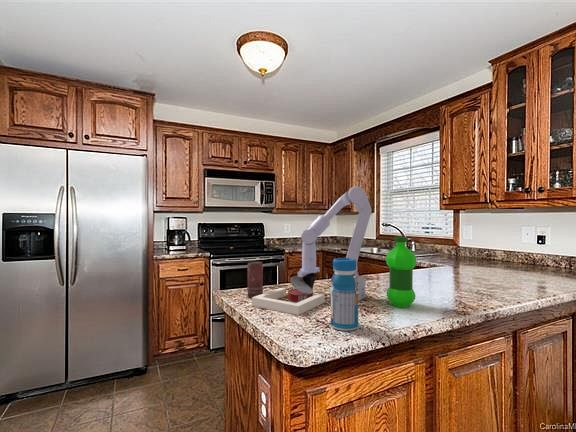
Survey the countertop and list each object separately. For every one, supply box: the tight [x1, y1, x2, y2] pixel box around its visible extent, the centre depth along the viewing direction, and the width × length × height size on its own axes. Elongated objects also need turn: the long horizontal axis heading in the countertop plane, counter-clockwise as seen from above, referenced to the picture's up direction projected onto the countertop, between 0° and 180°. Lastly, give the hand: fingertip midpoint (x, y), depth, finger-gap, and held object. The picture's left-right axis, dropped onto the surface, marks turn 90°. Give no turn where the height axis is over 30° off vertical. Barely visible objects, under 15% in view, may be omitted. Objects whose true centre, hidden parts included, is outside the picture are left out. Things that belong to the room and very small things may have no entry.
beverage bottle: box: [329, 257, 359, 332], centre depth 95 cm, size 8×8×20 cm
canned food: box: [287, 275, 314, 303], centre depth 126 cm, size 11×10×10 cm
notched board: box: [251, 287, 325, 316], centre depth 119 cm, size 20×18×3 cm
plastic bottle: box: [385, 236, 417, 309], centre depth 117 cm, size 10×10×25 cm
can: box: [247, 260, 264, 299], centre depth 130 cm, size 6×6×14 cm
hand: (309, 292), depth 132 cm, fingers closed
